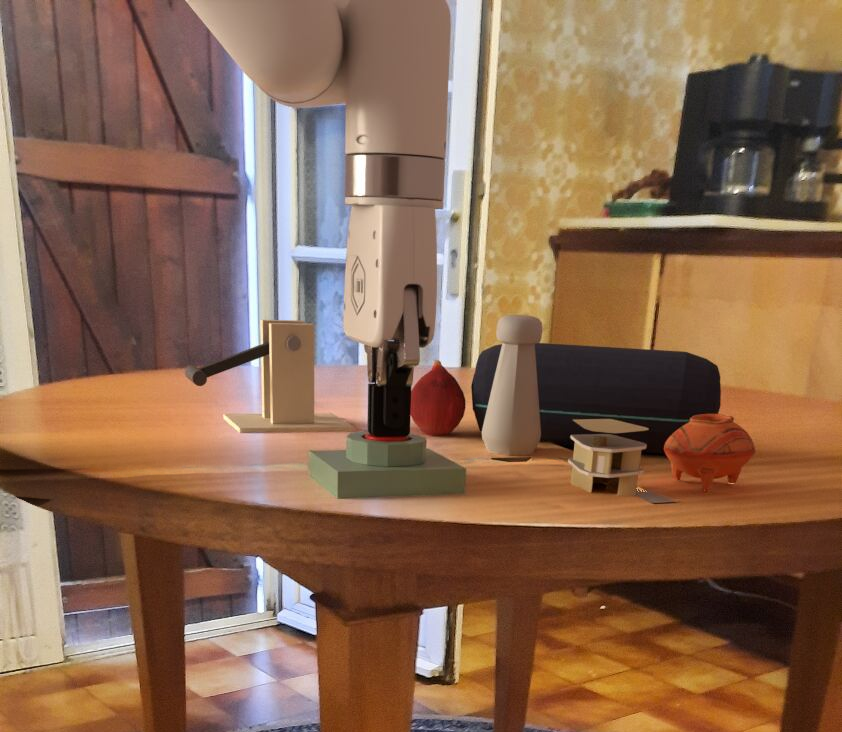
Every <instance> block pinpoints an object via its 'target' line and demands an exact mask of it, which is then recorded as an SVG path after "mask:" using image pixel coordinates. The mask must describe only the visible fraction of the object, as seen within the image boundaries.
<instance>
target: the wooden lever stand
mask: <svg viewBox="0 0 842 732" xmlns="http://www.w3.org/2000/svg"><path fill="white" fill-rule="evenodd" d="M259 321H260V345H261V344H264V343H266V342H269V355H266V356H263V357H261V358H260V360H261V361H260V363H261V366H260V367H261V410H262V411H261V413H223V420H224V421H226V422H227V424H229V425H230V426H232V428H233V429H235V430H236V431H237V432H238V433H240V434H251V433H252V434H253V433H256V434H258V433H266V434H267V433H323V432H324V433H325V432H326V433H328V432H333V433H334V432H335V433H336V432H337V433H338V432H356V426H354V425H353V424H351V423H349V422H347V420H344V419H342V418H341V417H339V416H337V415H336V414H334V413H332V412H331V413H330V412H319V413H318V412H316V413H315V324H314V323H305V321H304V320H297V319H296V320H295V319H293V320H291V319H290V320H289V319H260V320H259Z"/></svg>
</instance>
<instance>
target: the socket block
mask: <svg viewBox="0 0 842 732" xmlns="http://www.w3.org/2000/svg"><path fill="white" fill-rule="evenodd" d="M366 433H369V432H368V430H361V431H354V432H351V433H349V434H347V435H346V437H345V438H346V440H345V441H346V442H345V449H331V450H330V449H329V450H327V449H326V450H325V449H324V450H309V451H308V476H309V477H310V478H311V479H313V480H314V481H315V482H316V483H318V484H319V485H320V486H321V487H322V488H323V489H325V491H327V492H328V493H330V494H331V495H332V496H333V497H335V498H336V499H339V500H340V499H367V498H395V497H397V498H398V497H399V498H400V497H423V496H425V497H427V496H450V495H451V496H453V495H455V496H456V495H465V494H466V479H467V468H466V467H464V466H463V465H461V464H458V463H457V462H455V461H453V460H451V459H450V458H448V457H446V456H444V455H442V454H440V453H438V452H436V451H434V450H432V449H431V448H427V443H428V442H427V441H428V439H427V437H424V436H422V435H420V434H417V433H411V432H410V433H409V435H408V441H402V442H384V441H373V440H368V439H365V434H366Z"/></svg>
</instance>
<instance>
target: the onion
mask: <svg viewBox="0 0 842 732" xmlns="http://www.w3.org/2000/svg"><path fill="white" fill-rule="evenodd" d="M465 412H466V397H465V393H464V391H463V390H462V387H461V386H460V384H459V382H458V380H457V379H456V377H455V376H453V374H451V373H450V372H449V371H448V370H447V369H446V368H445V367H444V366H443V365H442V362H441V360H439V359H434V361H433V364H432V367H431V369H430V370H429V371H428V372H426V373H425V374H424V375H422V376H421V377H420V378H419V379H418V381H417V382H416V383H415V384H414V385H413V388H411V414H410V418H411V419H412V421H413V422H414V424H415V425H416V426H417V427H418V428H419V430H420V431H421V432H422V433H423V434H424V435H425V436H429V437H445V436H447V435H449V434H450V433H452V432H453V431H454V430H455V429H456V428H457V427H458V426H459V425H460V423H461V422H462V420H463V418H464V416H465Z"/></svg>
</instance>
